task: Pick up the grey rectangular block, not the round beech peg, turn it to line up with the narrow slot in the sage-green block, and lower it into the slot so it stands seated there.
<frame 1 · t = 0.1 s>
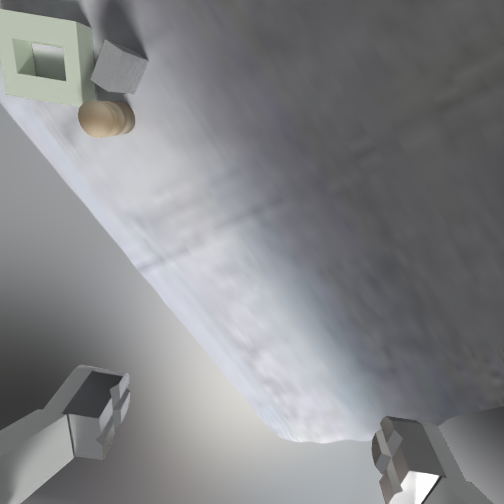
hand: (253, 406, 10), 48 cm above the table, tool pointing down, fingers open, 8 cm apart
slot block: (57, 63, 49), on the table
grey rectangular block: (134, 72, 49), on the table
round beech peg: (120, 117, 52), on the table
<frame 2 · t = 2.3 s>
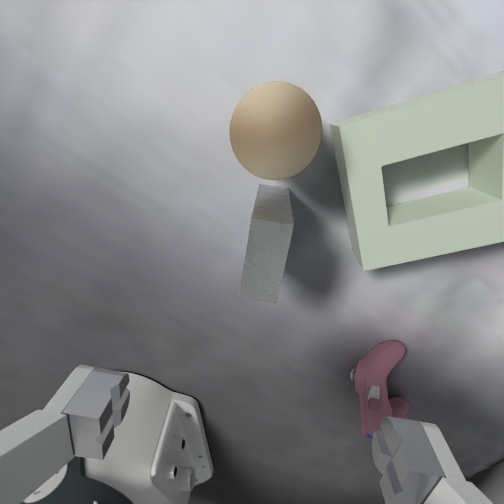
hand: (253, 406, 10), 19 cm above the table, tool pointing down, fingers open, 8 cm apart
slot block: (417, 172, 25), on the table
grey rectangular block: (268, 216, 27), on the table
round beech peg: (275, 126, 24), on the table
video game controller: (374, 371, 34), on the table
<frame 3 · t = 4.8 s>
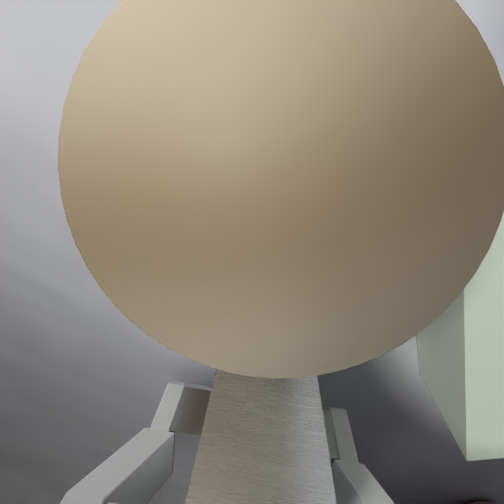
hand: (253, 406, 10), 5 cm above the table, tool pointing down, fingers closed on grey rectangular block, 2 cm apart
grey rectangular block: (260, 316, 14), on the table, touching gripper
round beech peg: (275, 144, 11), on the table
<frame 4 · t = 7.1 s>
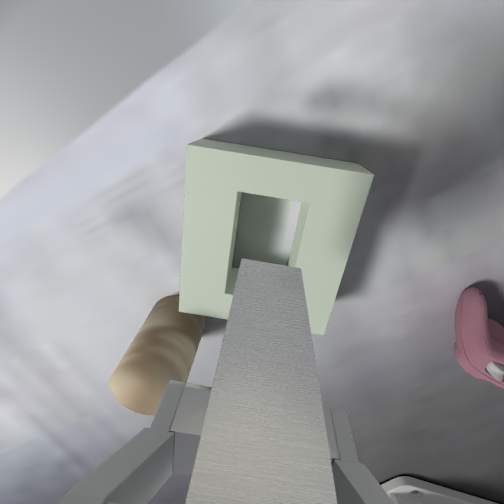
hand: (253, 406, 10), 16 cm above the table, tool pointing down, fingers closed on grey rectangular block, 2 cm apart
slot block: (265, 230, 24), on the table
grey rectangular block: (260, 316, 14), point 11 cm above the table, touching gripper
round beech peg: (178, 318, 28), on the table
video game controller: (500, 319, 26), on the table
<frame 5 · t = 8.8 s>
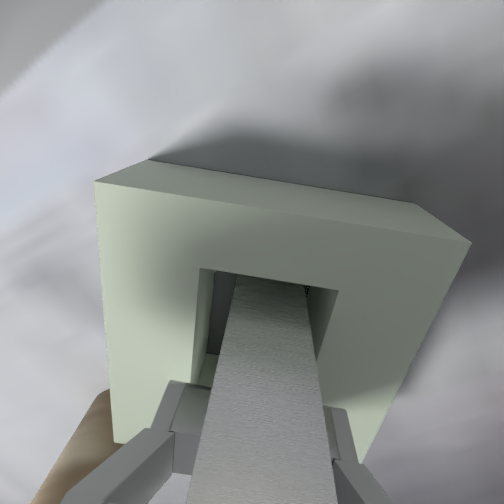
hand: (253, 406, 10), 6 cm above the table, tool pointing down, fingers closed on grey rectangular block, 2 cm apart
slot block: (257, 303, 15), on the table
grey rectangular block: (260, 315, 14), point 1 cm above the table, touching gripper
round beech peg: (131, 416, 19), on the table
when the fingers open (6 cm above the table, at t = 9.7 s): grey rectangular block stays where it is, resting in slot block.
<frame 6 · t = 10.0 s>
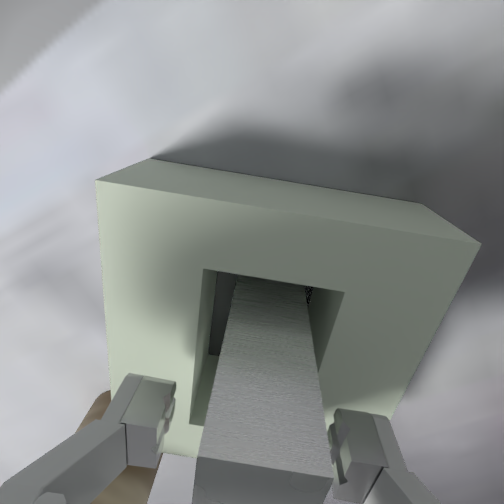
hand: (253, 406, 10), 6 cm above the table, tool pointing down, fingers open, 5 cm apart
slot block: (260, 304, 15), on the table
grey rectangular block: (261, 303, 15), resting in slot block
round beech peg: (132, 417, 19), on the table
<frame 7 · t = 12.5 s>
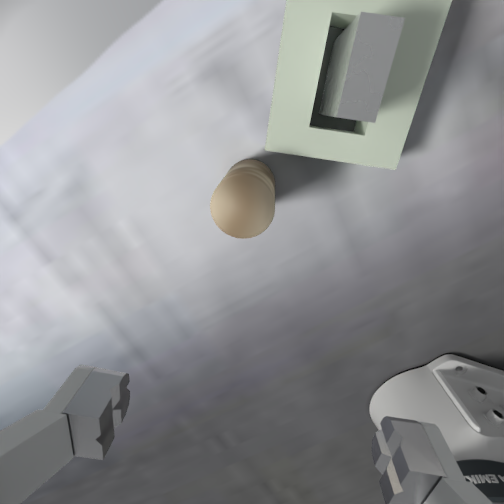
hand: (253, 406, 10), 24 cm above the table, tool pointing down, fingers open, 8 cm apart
slot block: (339, 81, 27), on the table
grey rectangular block: (340, 81, 27), resting in slot block
round beech peg: (250, 184, 31), on the table
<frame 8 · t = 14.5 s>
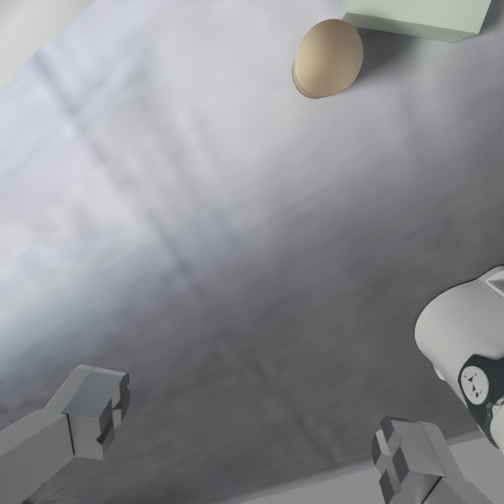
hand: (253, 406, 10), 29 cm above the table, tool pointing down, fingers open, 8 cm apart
round beech peg: (317, 70, 31), on the table
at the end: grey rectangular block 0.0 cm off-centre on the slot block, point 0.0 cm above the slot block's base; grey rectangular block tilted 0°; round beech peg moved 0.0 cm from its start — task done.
